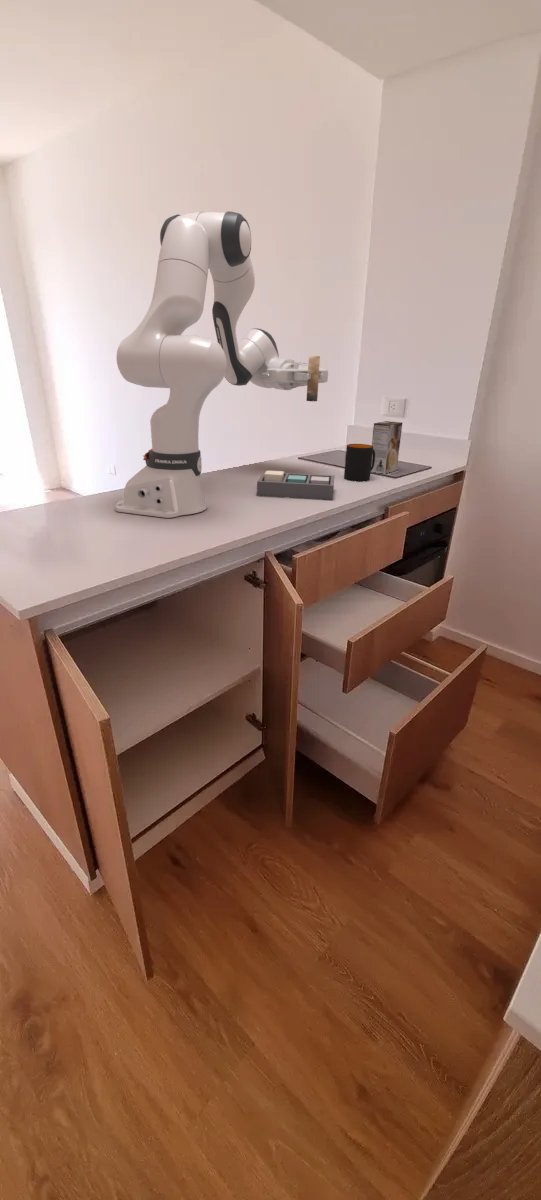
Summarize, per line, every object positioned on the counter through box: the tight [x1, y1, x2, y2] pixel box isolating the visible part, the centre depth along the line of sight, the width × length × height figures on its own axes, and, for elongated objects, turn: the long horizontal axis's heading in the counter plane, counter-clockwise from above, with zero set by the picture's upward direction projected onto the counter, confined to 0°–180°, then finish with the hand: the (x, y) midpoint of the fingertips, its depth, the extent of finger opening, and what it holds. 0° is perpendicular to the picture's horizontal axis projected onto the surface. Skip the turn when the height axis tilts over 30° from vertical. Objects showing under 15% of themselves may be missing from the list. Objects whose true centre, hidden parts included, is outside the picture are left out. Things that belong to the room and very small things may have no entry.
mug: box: [343, 443, 375, 483], centre depth 166 cm, size 8×12×10 cm
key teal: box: [287, 475, 306, 483], centre depth 148 cm, size 5×5×3 cm
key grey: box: [310, 476, 329, 485], centre depth 147 cm, size 5×5×3 cm
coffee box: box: [371, 420, 403, 475], centre depth 176 cm, size 9×6×16 cm
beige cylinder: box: [306, 355, 321, 402], centre depth 151 cm, size 3×3×12 cm
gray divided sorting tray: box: [256, 471, 335, 501], centre depth 148 cm, size 21×13×4 cm, turn 83°
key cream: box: [264, 470, 285, 482], centre depth 148 cm, size 5×5×3 cm
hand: (315, 377), depth 150 cm, fingers closed on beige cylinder, 3 cm apart
